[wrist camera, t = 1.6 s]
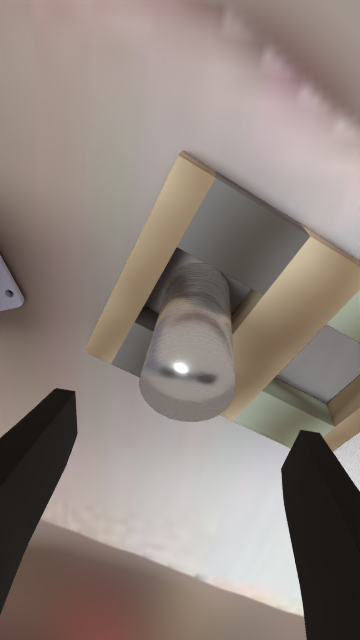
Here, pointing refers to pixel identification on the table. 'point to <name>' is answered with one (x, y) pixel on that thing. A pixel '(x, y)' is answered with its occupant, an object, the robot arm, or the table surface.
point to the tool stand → (255, 310)
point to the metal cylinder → (191, 348)
